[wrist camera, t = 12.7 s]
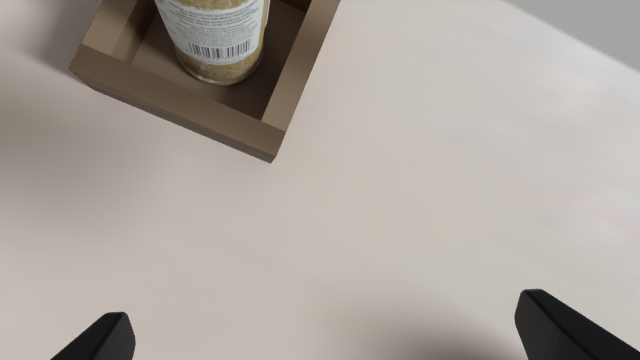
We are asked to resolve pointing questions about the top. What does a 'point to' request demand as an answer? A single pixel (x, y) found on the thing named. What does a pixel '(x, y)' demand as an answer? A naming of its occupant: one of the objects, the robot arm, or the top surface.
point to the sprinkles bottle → (217, 36)
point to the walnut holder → (194, 95)
